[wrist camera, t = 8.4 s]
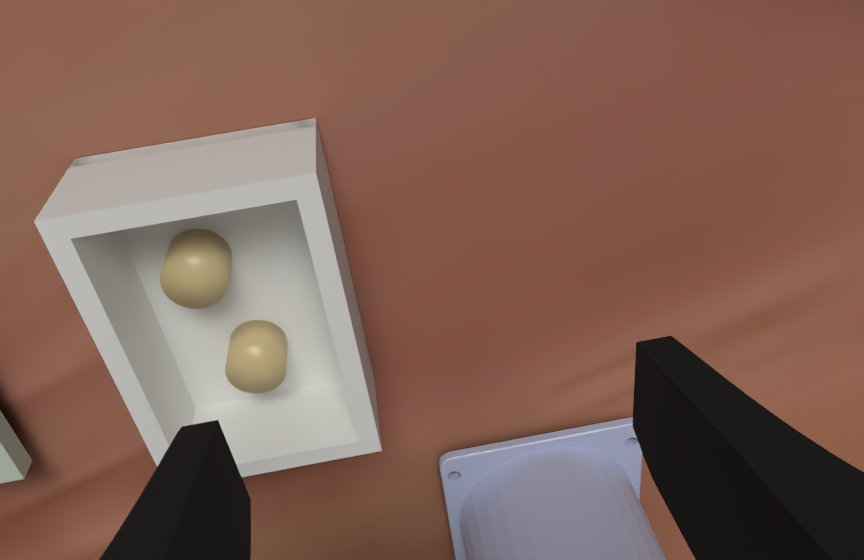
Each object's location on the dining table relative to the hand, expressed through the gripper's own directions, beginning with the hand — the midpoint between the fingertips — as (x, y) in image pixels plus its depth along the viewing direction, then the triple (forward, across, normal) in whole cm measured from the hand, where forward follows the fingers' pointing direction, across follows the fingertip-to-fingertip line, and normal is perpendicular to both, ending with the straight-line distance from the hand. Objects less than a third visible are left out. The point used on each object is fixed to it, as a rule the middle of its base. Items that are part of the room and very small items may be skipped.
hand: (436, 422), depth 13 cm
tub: (+10, +5, +3) cm, 12 cm away
